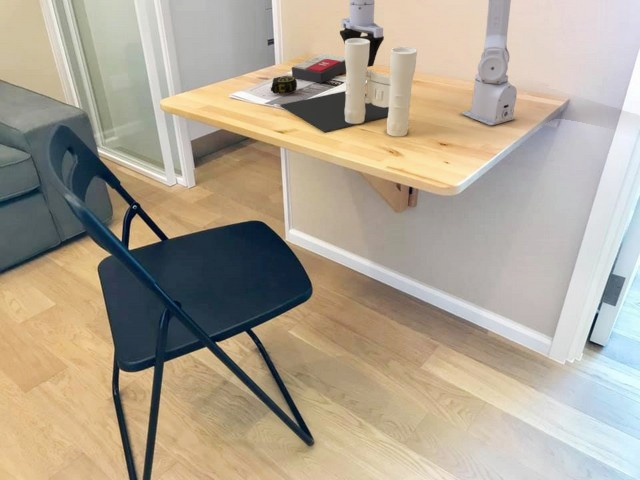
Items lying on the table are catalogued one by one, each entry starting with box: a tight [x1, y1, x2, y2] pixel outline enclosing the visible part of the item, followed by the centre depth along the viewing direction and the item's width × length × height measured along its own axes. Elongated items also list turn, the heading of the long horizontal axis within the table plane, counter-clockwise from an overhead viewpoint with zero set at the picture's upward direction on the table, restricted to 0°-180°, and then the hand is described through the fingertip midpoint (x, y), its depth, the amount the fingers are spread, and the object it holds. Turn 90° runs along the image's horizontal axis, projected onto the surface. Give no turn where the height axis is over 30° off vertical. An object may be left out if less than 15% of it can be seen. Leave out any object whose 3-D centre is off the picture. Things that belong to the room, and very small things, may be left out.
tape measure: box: [270, 75, 298, 94], centre depth 143 cm, size 7×7×4 cm
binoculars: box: [344, 38, 418, 137], centre depth 116 cm, size 17×5×18 cm, turn 51°
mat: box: [279, 90, 389, 133], centre depth 132 cm, size 22×23×1 cm
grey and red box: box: [291, 53, 346, 84], centre depth 157 cm, size 11×4×15 cm
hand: (360, 63), depth 129 cm, fingers open, 6 cm apart
